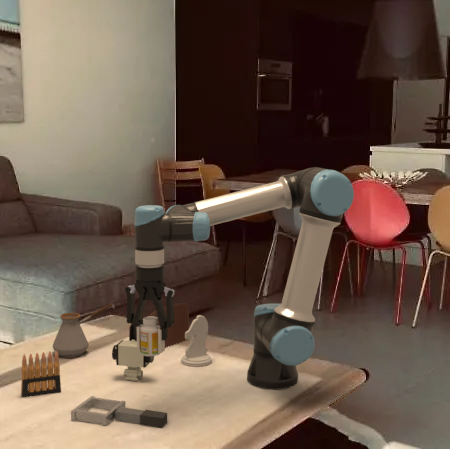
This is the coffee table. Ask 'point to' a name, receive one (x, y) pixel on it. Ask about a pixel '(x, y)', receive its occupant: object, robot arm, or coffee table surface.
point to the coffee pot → (73, 334)
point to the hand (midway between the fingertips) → (150, 350)
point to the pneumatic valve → (130, 359)
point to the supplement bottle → (149, 336)
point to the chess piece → (197, 344)
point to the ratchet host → (116, 413)
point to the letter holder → (175, 331)
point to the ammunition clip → (40, 376)
